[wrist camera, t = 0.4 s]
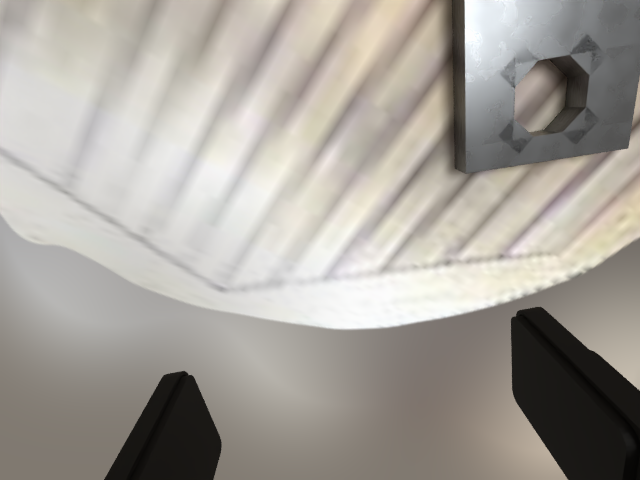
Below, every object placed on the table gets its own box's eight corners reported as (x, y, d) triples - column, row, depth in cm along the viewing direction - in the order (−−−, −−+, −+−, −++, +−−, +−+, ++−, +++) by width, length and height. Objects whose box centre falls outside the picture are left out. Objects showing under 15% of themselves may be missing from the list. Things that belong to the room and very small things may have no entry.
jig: (450, -83, 31) (486, -133, 24) (639, -119, 30) (730, -182, 23) (455, 168, 38) (483, 181, 32) (604, 145, 38) (665, 153, 31)
